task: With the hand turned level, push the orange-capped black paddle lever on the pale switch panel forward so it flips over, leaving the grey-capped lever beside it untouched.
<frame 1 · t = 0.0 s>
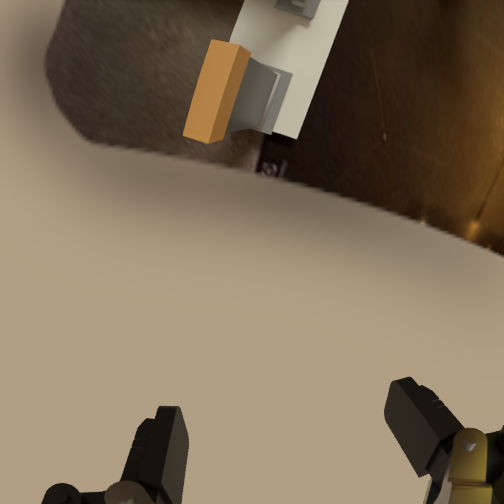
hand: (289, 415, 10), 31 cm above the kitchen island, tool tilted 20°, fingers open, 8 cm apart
orange lever: (245, 95, 22), point 11 cm above the kitchen island, hinge at -20.0°
switch panel: (280, 41, 28), on the kitchen island
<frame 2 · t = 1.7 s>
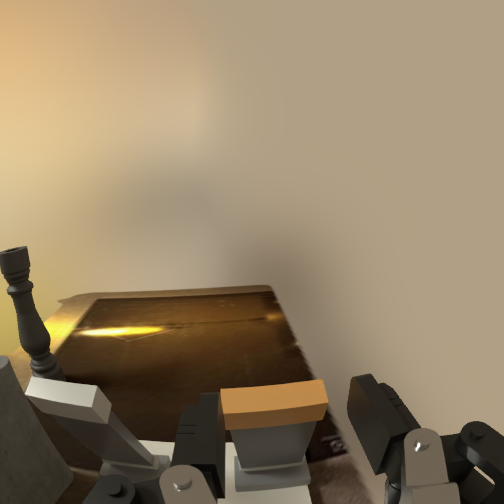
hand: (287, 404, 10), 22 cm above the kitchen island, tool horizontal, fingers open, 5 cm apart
orange lever: (272, 440, 21), point 11 cm above the kitchen island, hinge at -20.0°
candle holder: (52, 384, 41), on the kitchen island
grey lever: (102, 436, 20), point 11 cm above the kitchen island, hinge at -20.0°
switch panel: (203, 483, 25), on the kitchen island
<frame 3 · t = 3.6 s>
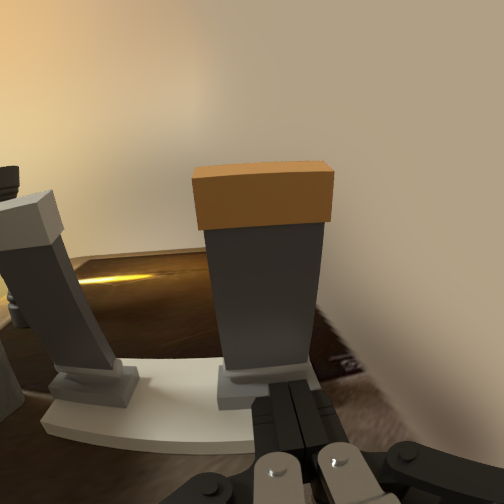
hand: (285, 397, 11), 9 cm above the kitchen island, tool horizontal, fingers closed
orange lever: (265, 296, 18), point 11 cm above the kitchen island, hinge at -20.0°
candle holder: (28, 321, 38), on the kitchen island
grey lever: (50, 305, 17), point 11 cm above the kitchen island, hinge at -20.0°
switch panel: (178, 406, 22), on the kitchen island
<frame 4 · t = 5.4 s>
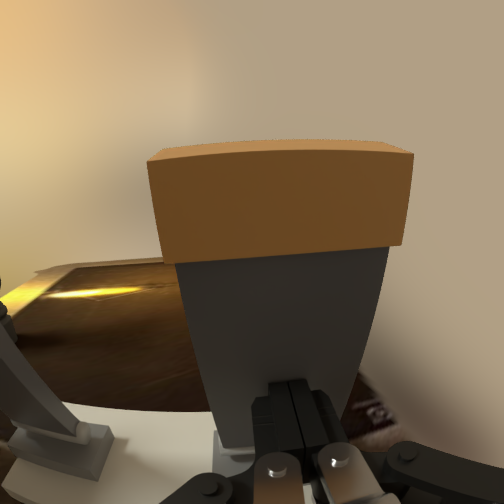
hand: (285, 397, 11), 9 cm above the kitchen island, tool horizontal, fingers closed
orange lever: (282, 362, 11), point 11 cm above the kitchen island, hinge at -16.2°, touching gripper
candle holder: (2, 343, 30), on the kitchen island
switch panel: (163, 477, 15), on the kitchen island
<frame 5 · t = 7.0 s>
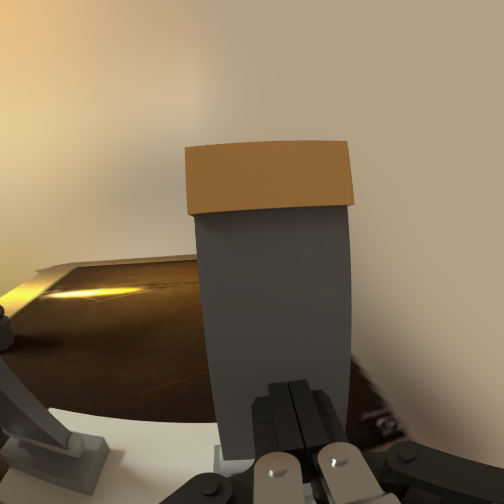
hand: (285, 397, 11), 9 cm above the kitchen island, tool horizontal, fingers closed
orange lever: (279, 335, 12), point 11 cm above the kitchen island, hinge at 9.4°
switch panel: (161, 491, 13), on the kitchen island
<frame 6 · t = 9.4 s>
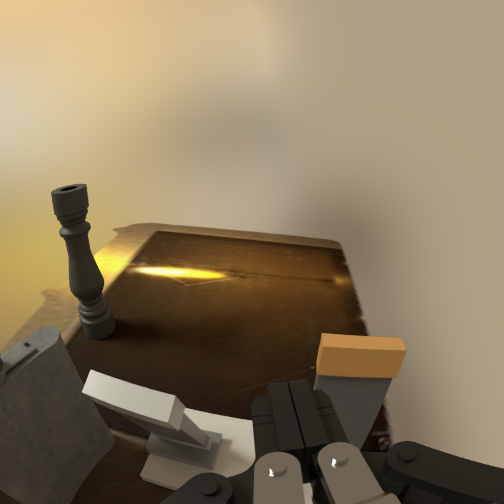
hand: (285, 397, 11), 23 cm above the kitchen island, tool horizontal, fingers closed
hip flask: (76, 475, 22), on the kitchen island
orange lever: (342, 414, 22), point 11 cm above the kitchen island, hinge at 9.4°
candle holder: (100, 328, 47), on the kitchen island
grey lever: (161, 423, 21), point 11 cm above the kitchen island, hinge at -20.0°
switch panel: (251, 464, 27), on the kitchen island
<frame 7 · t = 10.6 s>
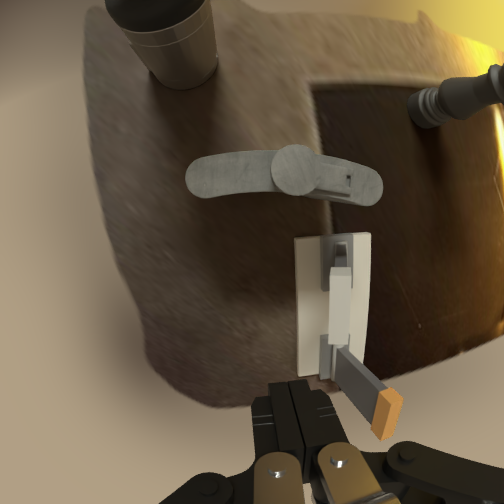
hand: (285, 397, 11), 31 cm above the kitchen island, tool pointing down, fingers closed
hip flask: (266, 181, 39), on the kitchen island
orange lever: (360, 387, 34), point 11 cm above the kitchen island, hinge at 9.4°
candle holder: (421, 110, 38), on the kitchen island
grey lever: (341, 282, 31), point 11 cm above the kitchen island, hinge at -20.0°
switch panel: (331, 307, 43), on the kitchen island
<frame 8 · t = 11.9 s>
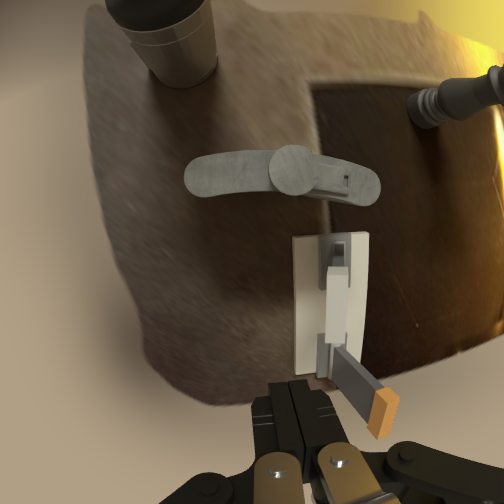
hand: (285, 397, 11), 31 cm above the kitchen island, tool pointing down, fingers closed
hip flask: (265, 179, 39), on the kitchen island
orange lever: (357, 386, 35), point 11 cm above the kitchen island, hinge at 9.4°
candle holder: (421, 111, 38), on the kitchen island
grey lever: (338, 281, 32), point 11 cm above the kitchen island, hinge at -20.0°
switch panel: (329, 305, 44), on the kitchen island
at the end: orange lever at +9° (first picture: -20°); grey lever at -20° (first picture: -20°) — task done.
